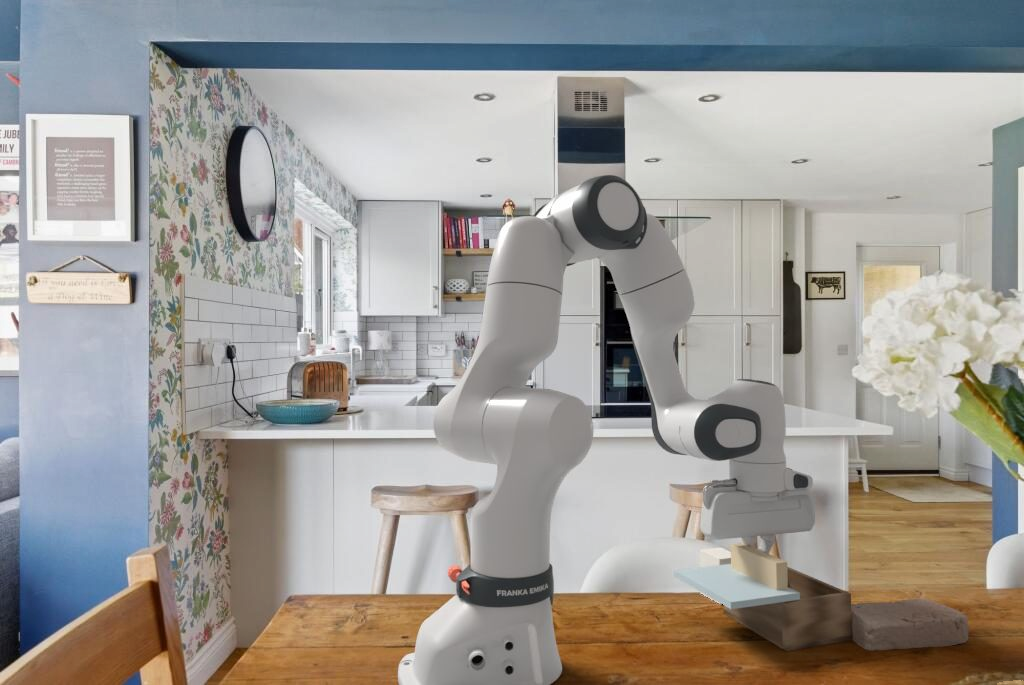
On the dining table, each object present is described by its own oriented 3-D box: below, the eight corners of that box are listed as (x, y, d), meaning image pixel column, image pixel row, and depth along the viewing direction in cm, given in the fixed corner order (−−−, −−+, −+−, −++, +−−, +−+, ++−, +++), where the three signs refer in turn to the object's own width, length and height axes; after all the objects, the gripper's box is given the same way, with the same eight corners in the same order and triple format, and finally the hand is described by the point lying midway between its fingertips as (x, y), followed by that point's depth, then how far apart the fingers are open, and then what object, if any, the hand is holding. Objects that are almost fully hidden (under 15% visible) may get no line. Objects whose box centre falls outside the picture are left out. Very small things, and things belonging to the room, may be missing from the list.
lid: (730, 609, 94) (730, 573, 94) (674, 576, 109) (673, 545, 109) (800, 599, 98) (799, 565, 98) (736, 568, 112) (736, 539, 112)
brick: (869, 653, 97) (868, 621, 97) (834, 630, 105) (834, 600, 105) (972, 647, 99) (971, 615, 99) (930, 625, 107) (929, 596, 107)
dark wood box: (786, 651, 97) (785, 602, 97) (724, 613, 111) (723, 571, 112) (851, 640, 101) (850, 593, 101) (783, 605, 115) (782, 564, 115)
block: (720, 605, 115) (719, 559, 115) (700, 593, 121) (699, 549, 121) (741, 602, 117) (741, 556, 117) (721, 591, 122) (720, 547, 122)
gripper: (714, 484, 104) (715, 573, 103) (821, 477, 110) (822, 561, 109) (692, 477, 110) (692, 562, 109) (794, 471, 116) (795, 551, 115)
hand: (758, 561), depth 109 cm, fingers closed
